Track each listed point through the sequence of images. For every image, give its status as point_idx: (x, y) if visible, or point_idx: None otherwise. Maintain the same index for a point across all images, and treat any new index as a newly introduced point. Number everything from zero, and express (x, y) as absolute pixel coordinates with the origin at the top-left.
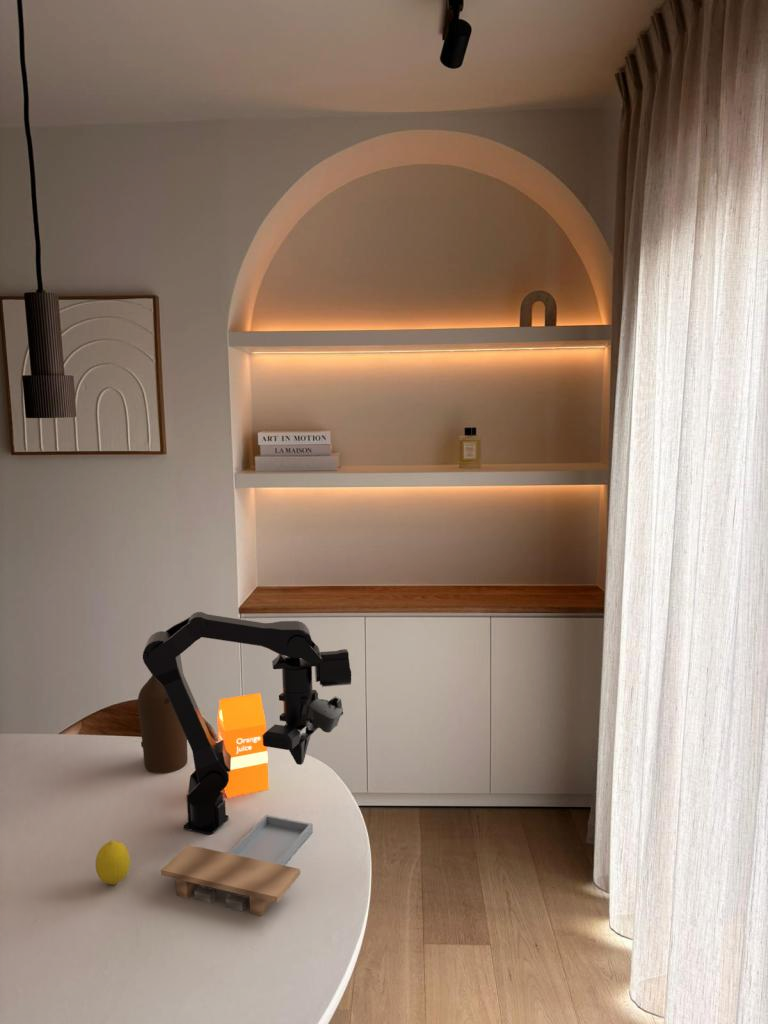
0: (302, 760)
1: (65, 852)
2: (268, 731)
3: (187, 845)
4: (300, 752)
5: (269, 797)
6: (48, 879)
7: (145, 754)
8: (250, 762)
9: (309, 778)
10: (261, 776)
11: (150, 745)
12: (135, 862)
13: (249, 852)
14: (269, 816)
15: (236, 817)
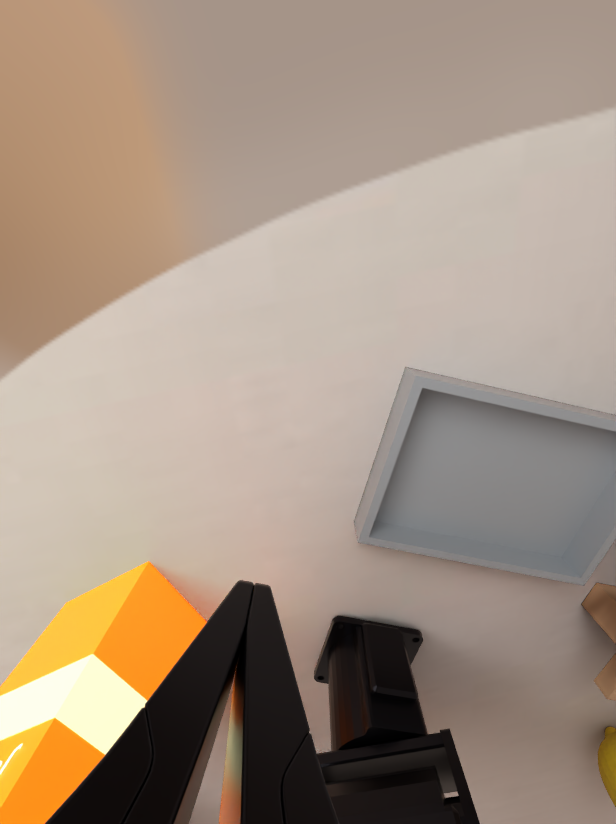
0: (259, 607)
1: (478, 811)
2: None
3: (610, 699)
4: (306, 726)
5: (197, 547)
6: (566, 805)
7: None
8: (134, 713)
9: (32, 459)
10: (139, 619)
11: None
12: (528, 720)
13: (522, 526)
14: (367, 529)
15: (326, 598)
